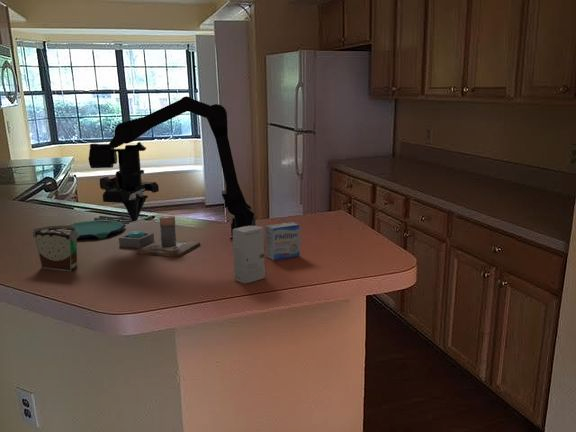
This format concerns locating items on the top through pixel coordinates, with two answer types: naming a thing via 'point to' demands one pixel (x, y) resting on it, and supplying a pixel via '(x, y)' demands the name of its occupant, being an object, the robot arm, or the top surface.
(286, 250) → the medicine box
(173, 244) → the pink and grey capsule
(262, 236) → the skincare box
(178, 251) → the drawing board
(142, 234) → the button
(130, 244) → the button housing
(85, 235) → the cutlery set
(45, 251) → the food container
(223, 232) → the top surface
